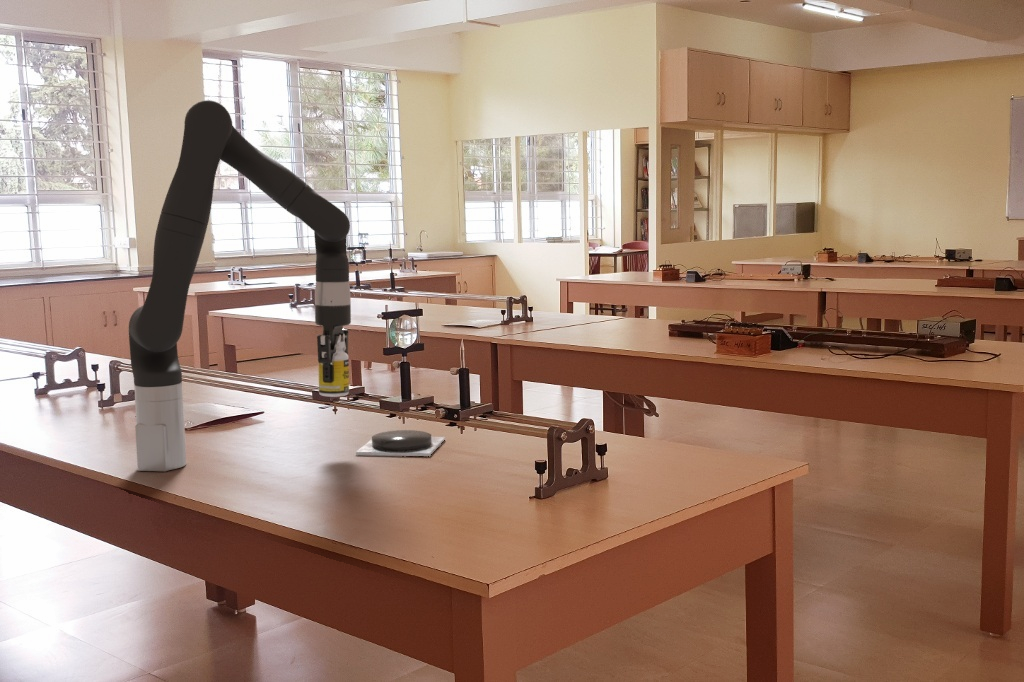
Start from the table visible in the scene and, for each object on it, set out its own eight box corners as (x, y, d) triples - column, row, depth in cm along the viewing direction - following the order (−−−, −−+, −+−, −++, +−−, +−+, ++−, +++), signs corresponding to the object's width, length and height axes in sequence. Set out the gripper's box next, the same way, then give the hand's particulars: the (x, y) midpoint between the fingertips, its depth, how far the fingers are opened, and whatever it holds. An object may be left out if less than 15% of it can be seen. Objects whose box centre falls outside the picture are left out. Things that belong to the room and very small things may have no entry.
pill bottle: (342, 398, 211) (341, 343, 210) (313, 396, 212) (313, 342, 211) (353, 393, 217) (353, 340, 216) (325, 391, 219) (325, 339, 217)
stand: (429, 457, 210) (429, 445, 210) (356, 455, 212) (355, 443, 212) (445, 440, 226) (444, 429, 225) (376, 438, 228) (376, 428, 228)
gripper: (339, 305, 205) (340, 385, 207) (359, 300, 219) (360, 375, 221) (304, 305, 206) (305, 384, 208) (326, 300, 220) (327, 374, 222)
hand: (333, 379), depth 215 cm, fingers closed on pill bottle, 6 cm apart
